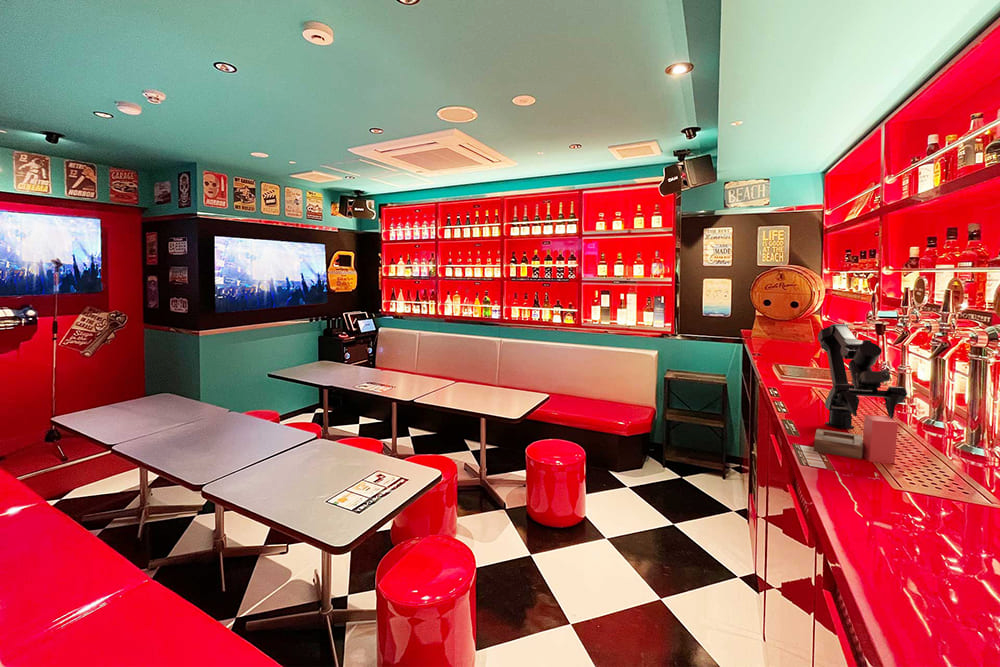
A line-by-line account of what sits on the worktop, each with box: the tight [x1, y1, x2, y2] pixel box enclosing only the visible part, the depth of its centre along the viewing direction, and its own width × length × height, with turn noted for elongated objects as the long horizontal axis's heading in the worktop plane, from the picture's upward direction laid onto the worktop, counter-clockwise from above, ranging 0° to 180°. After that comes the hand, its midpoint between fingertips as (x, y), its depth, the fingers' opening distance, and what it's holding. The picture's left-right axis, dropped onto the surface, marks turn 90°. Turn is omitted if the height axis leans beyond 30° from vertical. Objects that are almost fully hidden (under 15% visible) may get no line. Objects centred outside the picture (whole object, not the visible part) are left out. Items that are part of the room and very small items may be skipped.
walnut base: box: [813, 428, 863, 460], centre depth 148 cm, size 12×12×4 cm
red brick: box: [862, 414, 899, 465], centre depth 140 cm, size 6×6×12 cm
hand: (873, 416), depth 144 cm, fingers open, 9 cm apart
